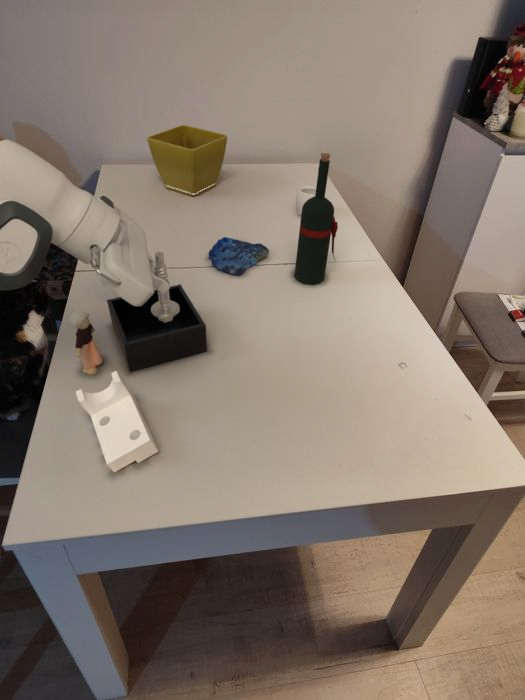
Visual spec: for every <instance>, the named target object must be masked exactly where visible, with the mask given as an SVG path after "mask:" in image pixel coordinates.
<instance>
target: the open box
mask: <svg viewBox="0 0 525 700" xmlns="http://www.w3.org/2000/svg"><path fill="white" fill-rule="evenodd" d="M169 296H170V298H169V299H170V300H171V301H174V302H176V303H177V304H178V305H179V308H180V310H179V312H178V314H177V315H175V316H174V317H173V321H169V322H166V323H164V322H162V321H160V320H159V319H158V317H156V316H154V315H153V314H152V313H151V307H152V306H153V304H155V303H156V302H158V301H159V297H158V291H157V289H154V293H153V295H152V296H151V297H150V298H149V299H148V300H147V301H146V302H145V303H144V304H143V305H142V306H133V305H131V304H130V303H128V302H127V301H125V300H124V299H122V298H121V297H119V296H118V297H114V298H109V299H106V303H107V307H108V312H109V316H110V320H111V321H110V322H111V325H112V328H113V331H114V334H115V337H116V340H117V342H118V345H119V348H120V351H121V353H122V355H123V358H124V361H125V364H126V366H127V369H128V372H129V373H134V372H138V371H141V370H145V369H149V368H152V367H156V366H161V365H163V364H166V363H171V362H174V361H179V360H182V359H185V358H186V359H187V358H189V357H193V356H196V355H200V354H203V353H207V352H208V341H207V325H206V323H205V322H204V320H203V319H202V317H201V316H200V313H199V312H198V311H197V309H196V306H194V304H193V302H192V301H191V299H190V297H189V296H188V294H187V293H186V291H185V289H184V288H183V286H182V284H175V285H172V286H171V285H170V289H169Z"/></svg>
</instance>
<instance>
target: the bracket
mask: <svg viewBox="0 0 525 700" xmlns="http://www.w3.org/2000/svg"><path fill="white" fill-rule="evenodd" d="M110 375H111V377H112V378H111V382H110V384H109V385H108V386H107V387H106V388H105V389H103V390H101V391H98V392H87V391H85V390H83V389H82V388H80V389H78V390H76V391H75V394H76V398H77V400H78V404H79V405H81V407H82V408H83V409H84V410H85V411H86V413H87V414H88V415H89V416H90V418H91V421H92V424H93V427H94V430H95V433H96V436H97V439H98V442H99V446H100V449H101V451H102V454H103V457H104V460H105V463H106V465H107V467H108V468H109V469H110V470H112V472H113V473H116V472H118V471H119V470H122V469H123V468H124V467H126V466H128V465H130V464H132V463H133V462H136V463H137V464H140V463H141V462H142V461H145V460H146V459H148V458H150V457H152V456H153V455H155V454H157V453H158V452H159V449H158V447H157V445H156V442H155V441H154V438H153V436H152V433H151V431H150V429H149V427H148V425H147V422H146V420H145V418H144V415H143V413H142V411H141V409H140V407H139V404H138V402H137V399H136V397H135V396H134V395H133V393H132V391H131V390H130V389H129V387H128V385H127V384H126V383H125V381H124V379H123V378H122V377H121V375H120V374H119V373H118V371H117V370H115V371H112V372H110Z"/></svg>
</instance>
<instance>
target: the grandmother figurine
mask: <svg viewBox="0 0 525 700" xmlns="http://www.w3.org/2000/svg"><path fill="white" fill-rule="evenodd" d="M89 317H90V314H89V312H88V311H87V310H81V309H80V310H79V309H78V310H75V311H74V312H72V313H71V315H70V317H69V321H70V323H71V324H72V326H73V327H75V328H76V329H77V330H76V331H75V345H74V347H75V357H76V358H81V361H82V366H83V369H82V371H83V373H85V374H87V375H92V376H93V375H95V374H96V373H98V371H99V369H98V367H97V366H100V365H102V363H103V362H104V359H103V356H102V354H101V350H100V349H99V347H98V345H97V343H96V341H95V339H94V336H93V333H95V331H96V329H95V328H94V325H92V323H91V321H90V319H89Z"/></svg>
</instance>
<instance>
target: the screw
mask: <svg viewBox="0 0 525 700" xmlns="http://www.w3.org/2000/svg"><path fill="white" fill-rule="evenodd" d="M164 257H165V256H164V252H162V251H157V252H155V254H154V260H155V261H156V264H155V265H156V268H155V270H156V271H155V273H157V274H156V276H157V277H159V278H161V276H162V277H164V278H165V279H166V280H168V281H169V278H168V277H167V275H168V272H167V271H168V269H167V265H166V264H165V258H164ZM157 291H158V290H157ZM158 297H159V301H158V302H156V303H155V304H153V306H152V307H151V313H152V314H153V315H154V316H156V317H158V319H159V320H160V321H162V322H164V323H166V322H169V321H173V317H174V316H175V315H177V314H178V312H179V310H180V308H179V305H178V304H177V303H176V302H174V301H171V300H170V299H169V298H170V296H169V290H168V291H167V292H166V293H162V292H160V291H158Z"/></svg>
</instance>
